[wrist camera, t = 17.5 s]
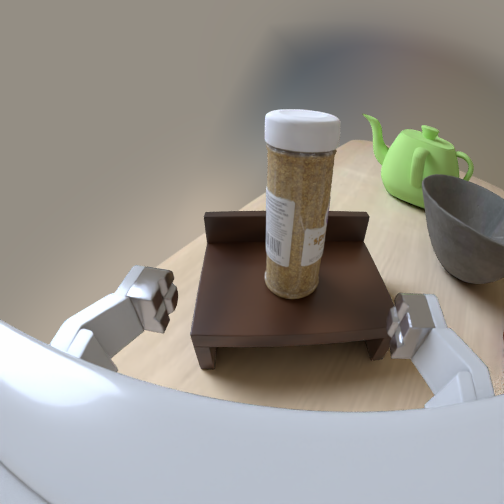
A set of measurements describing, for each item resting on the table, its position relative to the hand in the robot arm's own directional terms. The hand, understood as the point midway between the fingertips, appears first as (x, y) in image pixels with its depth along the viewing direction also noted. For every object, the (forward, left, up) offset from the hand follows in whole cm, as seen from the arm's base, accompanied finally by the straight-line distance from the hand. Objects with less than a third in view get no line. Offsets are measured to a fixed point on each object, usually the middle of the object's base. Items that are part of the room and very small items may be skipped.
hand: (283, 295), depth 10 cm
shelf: (+1, +11, -14) cm, 18 cm away
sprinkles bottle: (0, +10, -9) cm, 14 cm away
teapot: (+24, +45, -14) cm, 53 cm away
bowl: (+25, +21, -14) cm, 35 cm away
